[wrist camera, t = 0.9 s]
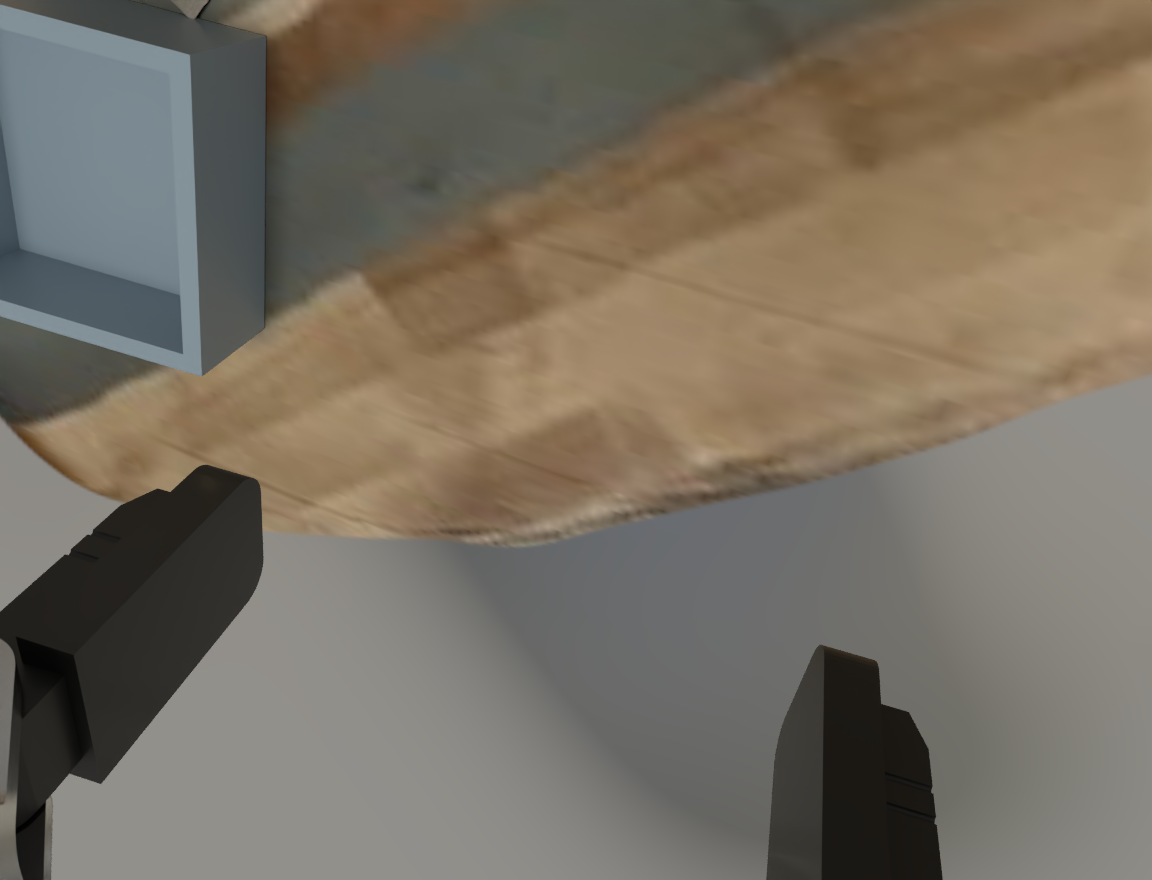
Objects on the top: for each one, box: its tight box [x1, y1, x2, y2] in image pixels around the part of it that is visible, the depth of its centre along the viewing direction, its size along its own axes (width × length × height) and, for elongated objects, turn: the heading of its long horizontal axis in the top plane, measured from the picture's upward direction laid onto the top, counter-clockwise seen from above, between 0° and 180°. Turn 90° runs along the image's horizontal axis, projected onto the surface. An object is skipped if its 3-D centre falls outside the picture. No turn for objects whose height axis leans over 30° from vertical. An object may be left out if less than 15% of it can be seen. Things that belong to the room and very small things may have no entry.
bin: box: [0, 0, 266, 377], centre depth 37 cm, size 13×13×5 cm
